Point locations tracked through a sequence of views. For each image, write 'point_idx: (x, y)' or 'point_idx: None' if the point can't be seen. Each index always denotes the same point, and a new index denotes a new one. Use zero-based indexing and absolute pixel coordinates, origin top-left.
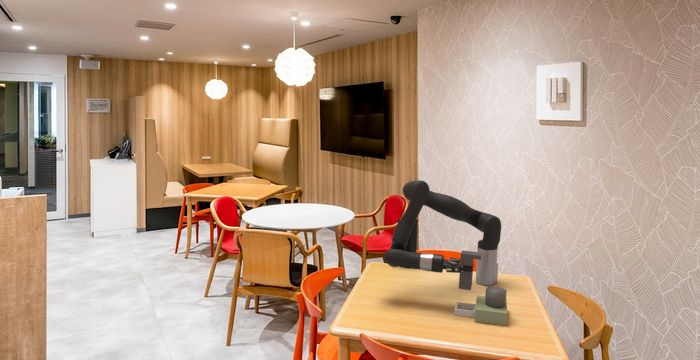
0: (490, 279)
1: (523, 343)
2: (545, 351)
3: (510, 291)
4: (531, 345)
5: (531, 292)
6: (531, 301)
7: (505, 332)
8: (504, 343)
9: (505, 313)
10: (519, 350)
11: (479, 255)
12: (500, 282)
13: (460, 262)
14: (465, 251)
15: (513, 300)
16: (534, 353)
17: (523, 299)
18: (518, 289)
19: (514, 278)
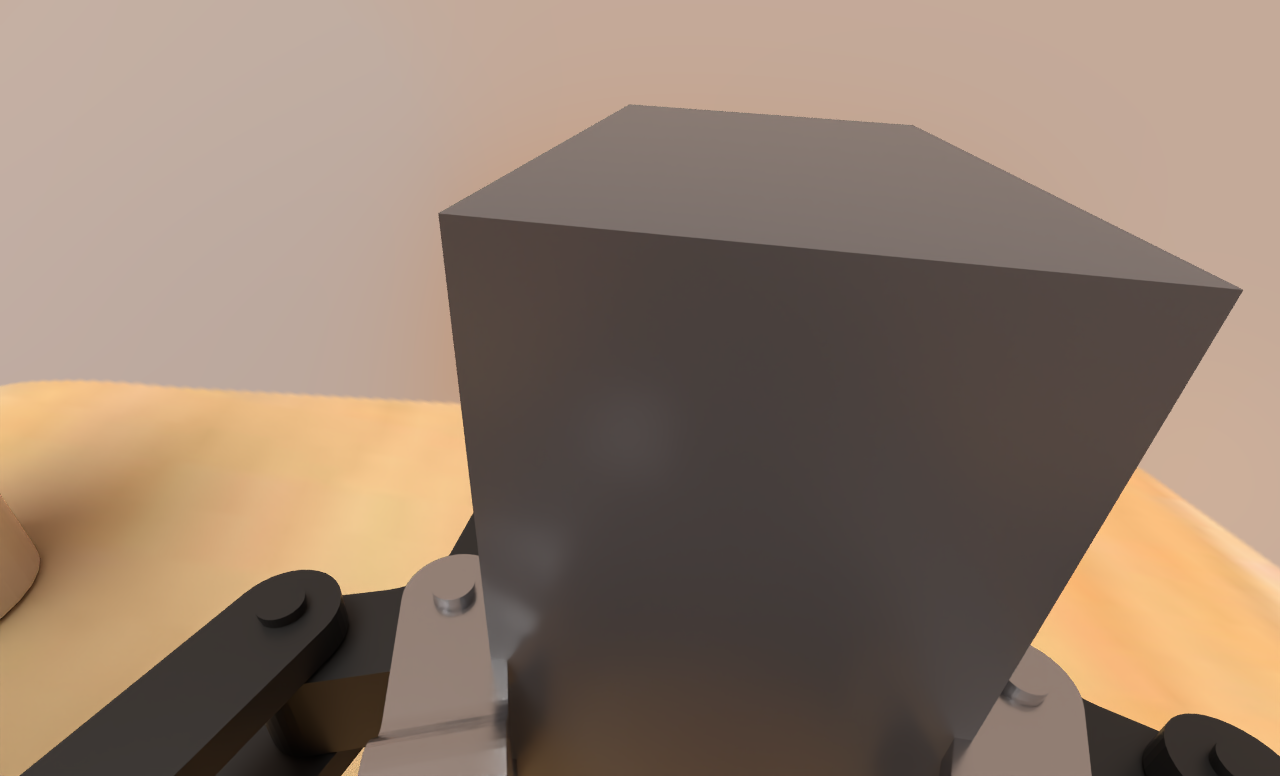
0: (4, 539)
1: (1136, 558)
2: (1139, 489)
3: (250, 479)
4: (1124, 528)
5: (312, 397)
6: (458, 421)
7: (1051, 628)
8: (1259, 665)
9: None
10: (1268, 595)
11: (908, 129)
12: (14, 503)
13: (1007, 671)
14: (638, 181)
15: (431, 491)
16: (1221, 534)
17: (420, 445)
18: (232, 437)
19: (4, 420)
